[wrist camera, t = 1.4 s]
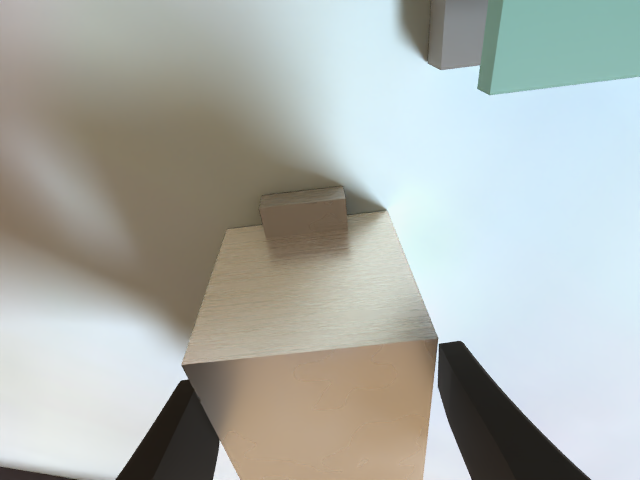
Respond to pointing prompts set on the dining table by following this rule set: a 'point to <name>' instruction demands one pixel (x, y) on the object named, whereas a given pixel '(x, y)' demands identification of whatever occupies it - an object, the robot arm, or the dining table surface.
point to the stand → (536, 41)
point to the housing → (315, 345)
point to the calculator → (26, 475)
